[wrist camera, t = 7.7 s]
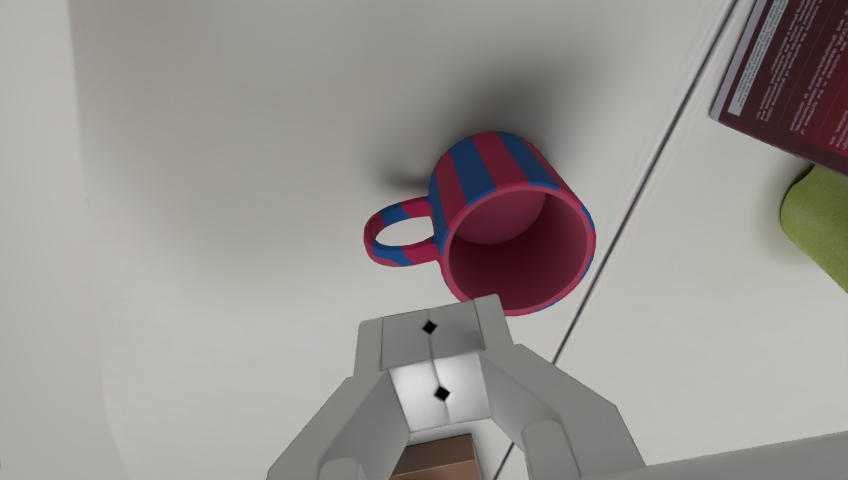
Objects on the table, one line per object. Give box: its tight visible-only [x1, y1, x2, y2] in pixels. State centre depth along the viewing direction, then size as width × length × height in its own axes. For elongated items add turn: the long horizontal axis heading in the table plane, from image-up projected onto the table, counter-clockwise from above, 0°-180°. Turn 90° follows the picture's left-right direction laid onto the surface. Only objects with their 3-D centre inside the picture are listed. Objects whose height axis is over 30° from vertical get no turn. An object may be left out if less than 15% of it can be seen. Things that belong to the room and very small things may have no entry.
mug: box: [364, 132, 596, 316], centre depth 23 cm, size 7×10×7 cm
